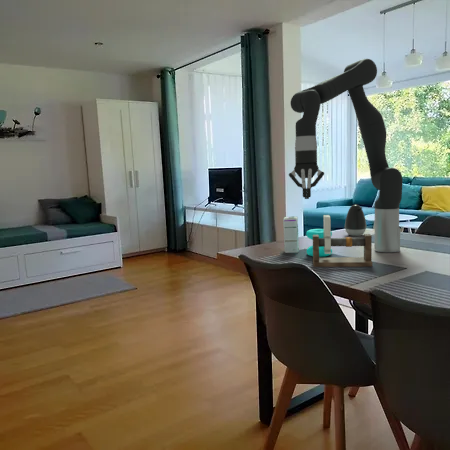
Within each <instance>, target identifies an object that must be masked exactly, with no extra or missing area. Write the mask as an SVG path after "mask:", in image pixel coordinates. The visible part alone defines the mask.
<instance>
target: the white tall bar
mask: <svg viewBox="0 0 450 450" xmlns="http://www.w3.org/2000/svg"><path fill="white" fill-rule="evenodd" d="M331 228H332V227H331V216H330V214H323V229H324V238H325V247H324V252H325V254H331V249H332V246H331V238H332V236H331V232H332V231H331ZM331 255H332V254H331Z"/></svg>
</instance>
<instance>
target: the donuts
mask: <svg viewBox="0 0 450 450" xmlns="http://www.w3.org/2000/svg"><path fill="white" fill-rule="evenodd" d="M305 233H306V234H305V235H306V237H307V238H308V239H310V240H312V241H313V235H319V238H324V228H313V229H309V230H308V229H307V231H306V232H305ZM332 236H333V232H332V231H331V237H332ZM306 254H307V255H308V256H310V257H313V245H310V246H309V247H308V248H306ZM332 254H333V249H332V248H331V254H325V252H324V247H319V258H326V257H330V256H331V255H332Z"/></svg>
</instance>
